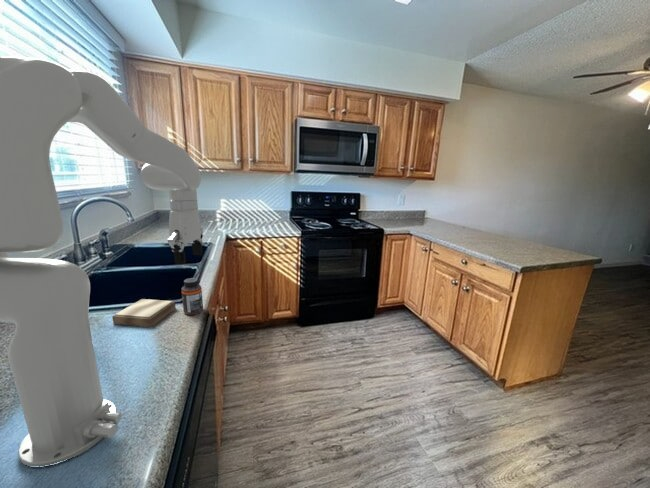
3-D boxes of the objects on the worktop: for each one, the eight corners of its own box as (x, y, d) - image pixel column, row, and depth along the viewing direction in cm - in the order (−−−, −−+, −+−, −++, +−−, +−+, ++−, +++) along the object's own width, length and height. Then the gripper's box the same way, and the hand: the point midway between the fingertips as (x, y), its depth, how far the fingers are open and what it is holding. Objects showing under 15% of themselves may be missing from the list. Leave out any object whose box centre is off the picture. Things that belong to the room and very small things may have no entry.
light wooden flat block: (175, 308, 94) (174, 300, 93) (150, 327, 82) (149, 317, 82) (142, 306, 95) (141, 298, 94) (113, 324, 83) (112, 314, 83)
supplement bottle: (183, 309, 94) (180, 278, 91) (202, 306, 96) (200, 275, 94) (183, 317, 88) (180, 284, 86) (204, 313, 91) (201, 281, 88)
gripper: (188, 202, 93) (193, 251, 97) (153, 208, 76) (160, 267, 80) (210, 203, 92) (213, 252, 96) (178, 209, 75) (184, 268, 80)
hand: (189, 259), depth 88 cm, fingers open, 9 cm apart
